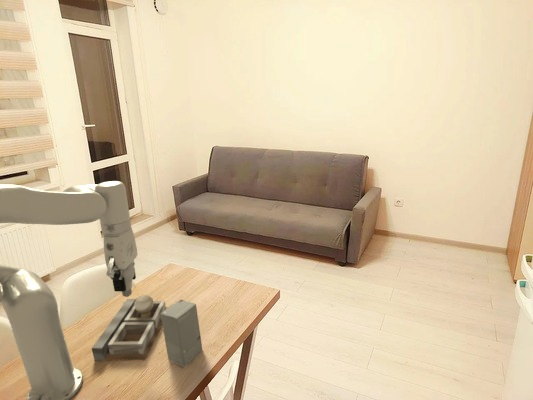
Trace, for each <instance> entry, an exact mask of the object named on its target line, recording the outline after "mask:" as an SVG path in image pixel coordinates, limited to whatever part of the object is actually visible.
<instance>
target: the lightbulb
mask: <svg viewBox="0 0 533 400" xmlns="http://www.w3.org/2000/svg"><path fill="white" fill-rule="evenodd" d="M115 268H118V267H117V266H115ZM115 273H117V274H119V270H115ZM134 275H136V269H135V265H134V266H133V265H132V264H130V265H129V266H128V267H127V268H126V269H125V270H123V278H125V285H126V291H121V295H122V297H125V298H128V297H130V296H131V295H132V293H133V291H132V287H133V280H132V279H133V277H134Z"/></svg>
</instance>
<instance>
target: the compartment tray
mask: <svg viewBox="0 0 533 400" xmlns="http://www.w3.org/2000/svg"><path fill="white" fill-rule="evenodd" d="M168 308H169V306H166V301H164V300H160V301H158V300H156V301H154V299H153V297H152V296H151V295H149V294H141V295H139V296H138V297H137V298H128V299H126V300H125V302H124V303H123V304H122V306H121V307H120V308H119V310H118V311H117V312H116V314H115V316H114V317H113V318H112V319H111V321H110V322H109V324H107V327H106V328H105V329H104V331H103V332H102V333H101V335H100V336H99V337H98V338H97V340H96V342H95V343H94V345H93V346H92V347H91V351H92V355H93V360H94V361H98V362H99V361H102V362H103V361H104V362H105V361H146V359H147V357H148V356H149V353H150V351H151V350H152V347H153V346H154V344H155V341H156V339H157V337H158V336H159V333H160V331H161V329H162V328H163V325H162V320H161V315H160V314H161V313H162V312H163V311H165V310H166V309H168Z"/></svg>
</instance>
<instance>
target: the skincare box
mask: <svg viewBox="0 0 533 400" xmlns="http://www.w3.org/2000/svg"><path fill="white" fill-rule="evenodd" d="M168 307H169V308H168V309H166V310H165V311H163V312H162V313H161V314H160V315H161V320H162V331H163V335H164V341H165V346H166V354H167V359H168V361H170V362H172V363H175V364H176V365H179V366H181V367H183V368H186V367H187V366H188V365H189V364H190V363H191V361H192V360H193V359H195V358H196V357H197V356H198V355H199V353H201V351H203V344H202V335H201V330H200V323H199V317H198V309H197V304H196V303H194V302H191V301H187V300H184V299H179V300H177V301H176V302H175V303H174V304H171V305H169V306H168Z"/></svg>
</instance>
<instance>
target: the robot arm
mask: <svg viewBox="0 0 533 400" xmlns="http://www.w3.org/2000/svg"><path fill="white" fill-rule="evenodd" d="M127 195H128V194H127V188H126V185H125V184H124V183H123V182H122V181H118V180H112V181H111V180H110V181H103V182H100V183H98V184H85V185H82V184H81V185H73V186H70V187H68V188H66V189H64V190H63V191H62V192H61V191H59V192H58V191H47V190H40V189H34V188H31V187H27V186H23V185H20V184H19V185H17V184H11V183H10V184H7V183H5V184H2V183H0V224H22V225H23V224H25V225H46V226H47V225H51V226H52V225H53V226H55V225H56V226H60V225H61V226H62V225H63V226H65V225H79V224H90V223H93V222H96V221H98V220H99V224H100V229H101V235H102V237H103V252H104V253H103V254H104V261H105V265H106V269H107V270H106V276H107V277H109V278H110V279H111V280H112V285H113V290H114V291H113V292H122V291H126V285H125V278H123V270H125V269H126V268H127V267H128V266H129V265H130V264H132V265H133V266H134V267H135V265H136V264H135V259H136V258H137V256H138V248H137V243H136V238H135V234H134V231H133V228H132V222H131V216H130V209H129V202H128V201H129V200H128V196H127ZM115 266H117V267H118V268H115ZM115 270H119V274H117V273H115ZM136 276H137V275H136V274H135V275H134V277H133V279H132V281H134V280H136V278H137V277H136ZM0 305H1V306H2V308H3V310H4V312H5V315H6V317H7V319H8V321H9V324H10V327H11V330H12V334H13V337H14V341H15V344H16V347H17V350H18V352H19V355H20V358H21V361H22V364H23V367H24V370H25V373H26V376H27V379H28V383H29V384H30V389H29V391H28V393H27V395H26V400H70V399H71V398H73V397H74V396H75V395H76V394H77V392H78V391H79V390H80V389H81V387H82V385H83V383H84V382H83V381H84V376H83V373H82V372H81V370H79V369H78V368H75V367H74V366H73V363H72V359H71V356H70V352H69V348H68V344H67V341H66V338H65V334H64V330H63V326H62V324H61V319H60V313H59V307H58V301H57V299H56V296H55V294H54V292H53V290H51V288H50V287H49V285H47V283H46V282H45V281H44V280H43V279H42V278H41V276H39V275H38V274H37V273H35V272H33V271H31V270H27V269H23V268H18V267H14V266H10V265H6V264H5V265H4V264H0Z"/></svg>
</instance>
